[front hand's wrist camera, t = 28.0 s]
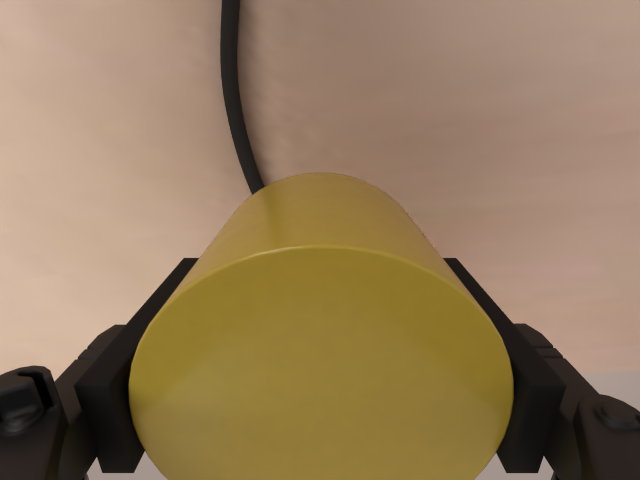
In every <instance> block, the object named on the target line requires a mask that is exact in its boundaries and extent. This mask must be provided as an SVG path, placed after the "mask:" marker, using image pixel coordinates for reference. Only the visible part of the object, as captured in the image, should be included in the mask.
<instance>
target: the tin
mask: <svg viewBox="0 0 640 480" xmlns="http://www.w3.org/2000/svg"><path fill="white" fill-rule="evenodd" d="M513 401H514V379H513V373H512V368H511V363H510V358H509V355H508V352H507V350H506V347H505V345H504V342H503V340H502V337H501V336H500V334H499V332H498V331H497V329H496V327H495V326H494V324H493V322H492V321H491V319H490V318H489V316H488V315H487V314H486V313H485V311H484V310H483V309H482V308H481V306H480V305H479V304H478V302H477V301H476V300H475V299H474V297H473V296H472V295H471V294H470V292H469V291H468V290H467V288H466V287H465V286H464V285H463V283H462V282H461V281H460V280H459V278H458V277H457V276H456V275H455V273H454V272H453V271H452V269H451V268H450V267H449V266H448V264H447V263H446V262H445V261H444V259H443V258H442V257H441V255H440V254H439V253H438V252H437V250H436V249H435V248H434V247H433V245H432V244H431V243H430V241H429V240H428V239H427V238H426V236H425V235H424V234H423V233H422V231H421V230H420V229H419V227H418V226H417V225H416V224H415V222H414V221H413V220H412V219H411V217H410V216H409V215H408V214H407V212H406V211H405V210H404V209H403V208H402V207H401V205H400V204H398V203H397V202H396V201H395V200H394V199H393V198H392V197H391V196H389V195H388V194H386V193H385V192H383V191H382V190H380V189H379V188H377V187H375V186H373V185H371V184H369V183H367V182H365V181H362V180H359V179H356V178H353V177H350V176H345V175H340V174H334V173H309V174H301V175H296V176H291V177H287V178H285V179H282V180H279V181H276V182H274V183H272V184H270V185H268V186H266V187H264V188H262V189H260V190H259V191H257V192H256V193H255V194H253V195H252V196H250V197H249V198H248V199H247V200H246V201H245V202H244V203H243V204H242V205H240V206H239V207H238V209H237V210H236V211H235V212H234V214H233V215H232V216H231V217H230V219H229V220H228V221H227V223H226V224H225V225H224V227H223V228H222V229H221V231H220V232H219V233H218V234H217V236H216V237H215V238H214V240H213V241H212V242H211V244H210V245H209V246H208V248H207V249H206V250H205V251H204V253H203V254H202V255H201V257H200V258H199V259H198V261H197V262H196V263H195V265H194V266H193V267H192V268H191V270H190V271H189V272H188V274H187V275H186V276H185V278H184V279H183V280H182V282H181V283H180V284H179V286H178V287H177V288H176V289H175V291H174V292H173V293H172V295H171V296H170V297H169V299H168V300H167V301H166V303H165V304H164V305H163V306H162V308H161V309H160V310H159V312H158V313H157V314H156V316H155V317H154V318H153V320H152V321H151V322H150V323H149V325H148V327H147V329H146V331H145V332H144V334H143V336H142V338H141V340H140V342H139V344H138V346H137V349H136V352H135V355H134V358H133V361H132V365H131V372H130V378H129V406H130V412H131V417H132V422H133V425H134V427H135V430H136V433H137V435H138V438H139V441H140V442H141V444H142V446H143V448H144V449H145V451H146V453H147V455H148V457H149V458H150V459H151V461H152V462H153V463H154V465H155V466H156V467H157V468H158V470H159V471H160V472H161V473H162V474H163V475H164V476H165V477H166V478H167V479H168V480H474V479H475V478H476V477H477V476H478V475H479V474H480V473H481V472H482V471H483V469H484V468H485V467H486V466H487V464H488V463H489V462H490V460H491V459H492V457H493V456H494V455H495V453H496V452H497V450H498V448H499V446H500V444H501V442H502V440H503V438H504V436H505V433H506V430H507V428H508V425H509V421H510V418H511V413H512V407H513Z"/></svg>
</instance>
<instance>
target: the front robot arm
mask: <svg viewBox="0 0 640 480" xmlns="http://www.w3.org/2000/svg"><path fill="white" fill-rule="evenodd" d="M239 2H240V0H222V14H221V42H220V56H221V78H222V87H223V95H224V101H225V107H226V112H227V116H228V121H229V125H230V130H231V134H232V138H233V141H234V145H235V149H236V152H237V155H238V158H239V161H240V164H241V167H242V170H243V173H244V176H245V178H246V181H247V183H248V186H249V188H250V191H251V193H252V195H253V194H255V193H256V192H257V191H259V190H260V189H262V188H264V185H263V182H262V180H261V177H260V174H259V172H258V169H257V166H256V163H255V160H254V157H253V154H252V150H251V147H250V143H249V139H248V136H247V131H246V127H245V123H244V118H243V113H242V108H241V101H240V95H239V86H238V74H237V39H238V20H239ZM198 259H199V258H184V259H183V260H182V261H181V262H180V263H179V264H178V266H177V267H176V268H175V269H174V270H173V271H172V273H171V274H170V275H169V276H168V277H167V278H166V279H165V281H164V282H163V283H162V284H161V285H160V286H159V287H158V289H157V290H156V291H155V292H154V293H153V294H152V296H151V297H150V298H149V299H148V300H147V301H146V302H145V304H144V305H143V306H142V307H141V308H140V309H139V311H138V312H137V313H136V314H135V315H134V316H133V317H132V319H131V320H130V321H129V322H128V323H127V324H126V325H114V326H112V327H111V328H109V329H108V330H106V331H104V332H103V333H101V334H100V335H98V336H97V337H96V339H95V340H94V341H93V342H92V343H91V344H90V345H89V346H88V347H87V349H85V350H84V351H83V352H82V353H81V354H80V355H79V356H78V359H77V360H75V361H74V362H73V363H72V364H71V365H70V366H69V367H68V368H67V369H66V370H65V371H64V372H63V373H62V374H61V375H60V377H59V378H58V379H57V380H56V381H55V382H54V380H53V377H52V374H51V371H50V370H49V369H47V368H46V367H44V366H28V367H22V368H18V369H15V370H12V371H9V372H6V373H4V374H2V375H0V480H89V478H88V475H87V471H88V470H89V468H90V466H91V465H92V463H93V462H94V460H95V459H96V457H97V458H98V461H99V464H100V467H101V470H102V473H134V471H135V469H136V467H137V465H138V463H139V461H140V459H141V457H142V455H143V453H144V451H145V449H144V448H143V446H142V444H141V442H140V441H139V438H138V435H137V433H136V430H135V427H134V425H133V422H132V417H131V412H130V406H129V378H130V372H131V365H132V361H133V358H134V355H135V352H136V349H137V346H138V344H139V342H140V340H141V338H142V336H143V334H144V332H145V331H146V329H147V327H148V325H149V323H150V322H151V321H152V320H153V318H154V317H155V316H156V314H157V313H158V312H159V310H160V309H161V308H162V306H163V305H164V304H165V303H166V301H167V300H168V299H169V297H170V296H171V295H172V293H173V292H174V291H175V289H176V288H177V287H178V286H179V284H180V283H181V282H182V280H183V279H184V278H185V276H186V275H187V274H188V272H189V271H190V270H191V268H192V267H193V266H194V265H195V263H196V262H197V261H198ZM443 259H444V261H445V262H446V263H447V264H448V266H449V267H450V268H451V269H452V271H453V272H454V273H455V275H456V276H457V277H458V278H459V280H460V281H461V282H462V283H463V285H464V286H465V287H466V288H467V290H468V291H469V292H470V294H471V295H472V296H473V297H474V299H475V300H476V301H477V302H478V304H479V305H480V306H481V308H482V309H483V310H484V311H485V313H486V314H487V315H488V316H489V318H490V319H491V321H492V322H493V324H494V326H495V327H496V329H497V331H498V332H499V334H500V336H501V337H502V340H503V342H504V345H505V347H506V350H507V352H508V355H509V358H510V363H511V368H512V373H513V379H514V401H513V407H512V413H511V418H510V421H509V425H508V428H507V430H506V433H505V436H504V438H503V440H502V442H501V444H500V446H499V448H498V450H497V452H496V453H497V455H498V457H499V459H500V461H501V463H502V465H503V467H504V469H505V471H506V473H538V471H539V468H540V465H541V462H542V459H543V456H545V458H546V460H547V461H548V463H549V464H550V466H551V467H552V469H553V471H554V472H553V475H552V478H551V480H640V412H639V411H638V410H637V409H635V408H634V407H632V406H630V405H628V404H627V403H625V402H623V401H621V400H618V399H615V398H613V397H610V396H607V395H601V394H599V393H598V392H597V391H596V390H595V389H594V388H593V387H592V386H591V385H590V384H589V383H588V382H587V381H586V380H585V379H584V378H583V377H582V376H581V375H580V373H579V372H578V371H577V370H576V369H575V368H574V367H573V366H572V365H571V364H570V363H569V362H568V361H567V360H566V359H565V358H563V356H562V355H561V354H560V353H559V351H558V350H557V349H556V348H553V345H552V344H551V343H550V342H549V341H548V340H547V339H546V338H545V337H544V336H543V335H542V334H541V333H539V332H538V331H536V330H535V329H533V328H531V327H530V326H528V325H527V324H513V323H512V322H511V321H510V320H509V318H508V317H507V316H506V315H505V314H504V313H503V311H502V310H501V309H500V308H499V307H498V306H497V305H496V303H495V302H494V301H493V300H492V299H491V298H490V297H489V295H488V294H487V293H486V292H485V291H484V290H483V288H482V287H481V286H480V285H479V284H478V283H477V282H476V280H475V279H474V278H473V277H472V276H471V275H470V274H469V272H468V271H467V270H466V269H465V268H464V267H463V265H462V264H461V263H460V262H459V261H458V260H457V259H456V258H443Z"/></svg>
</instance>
